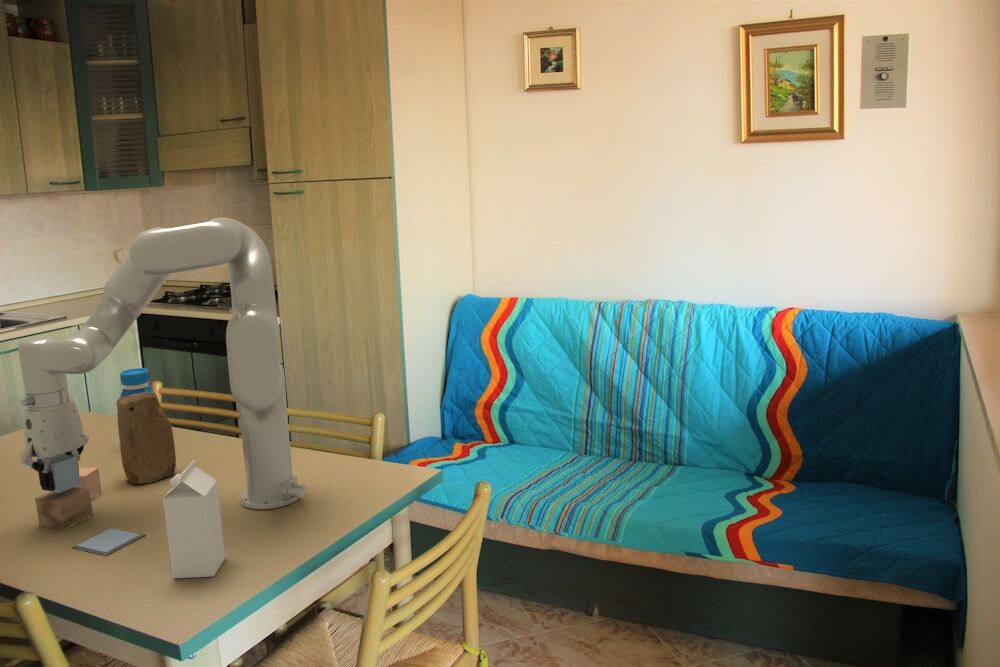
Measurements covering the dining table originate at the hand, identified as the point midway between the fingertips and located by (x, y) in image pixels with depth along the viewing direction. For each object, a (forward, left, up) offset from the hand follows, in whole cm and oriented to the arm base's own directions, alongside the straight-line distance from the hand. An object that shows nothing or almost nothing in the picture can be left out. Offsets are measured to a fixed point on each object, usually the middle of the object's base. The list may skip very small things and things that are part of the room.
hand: (60, 483), depth 170 cm
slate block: (0, 0, -1) cm, 1 cm away
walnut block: (0, 0, -8) cm, 8 cm away
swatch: (-17, +4, -8) cm, 19 cm away
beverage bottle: (+22, -40, -8) cm, 46 cm away
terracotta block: (+7, -10, -8) cm, 15 cm away
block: (+2, -24, -8) cm, 25 cm away
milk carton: (-42, +6, -8) cm, 43 cm away
